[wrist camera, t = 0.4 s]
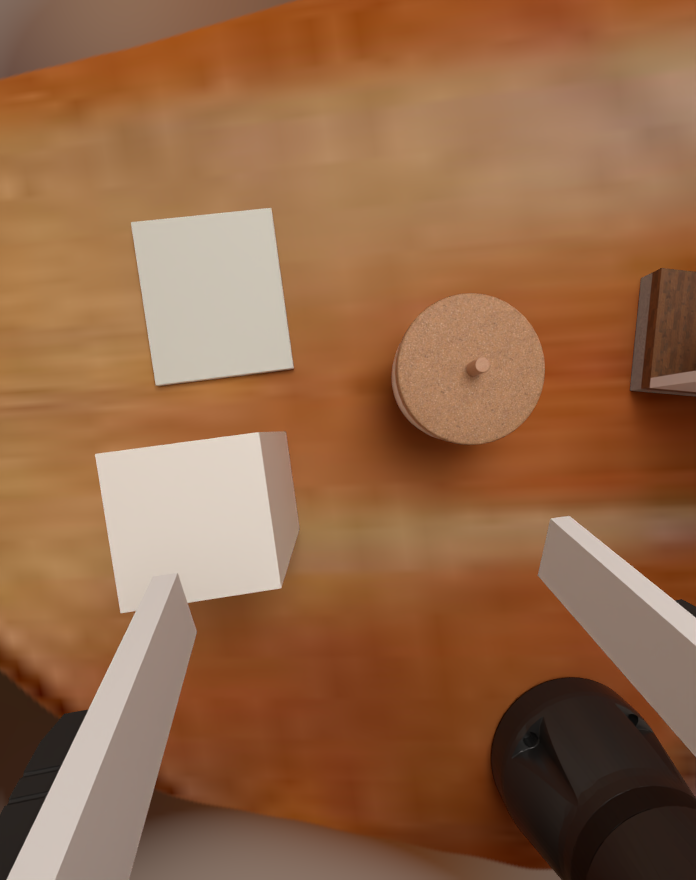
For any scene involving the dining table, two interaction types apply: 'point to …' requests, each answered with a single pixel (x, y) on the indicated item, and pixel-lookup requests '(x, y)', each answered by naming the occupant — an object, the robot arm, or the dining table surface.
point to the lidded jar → (468, 370)
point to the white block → (200, 515)
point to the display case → (666, 334)
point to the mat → (212, 296)
